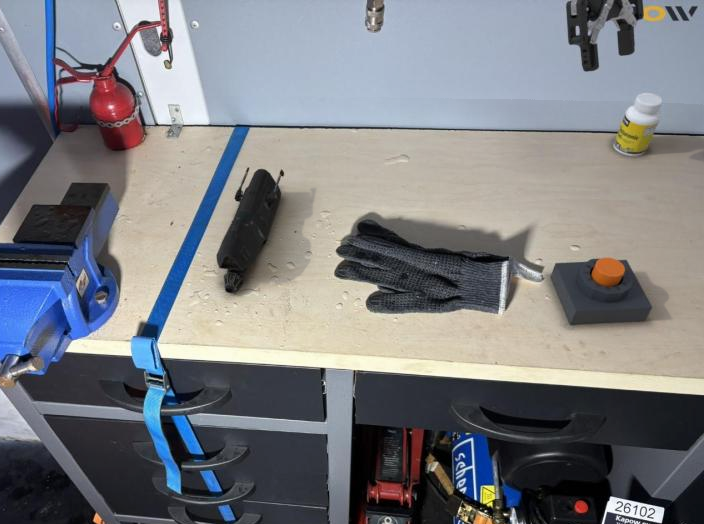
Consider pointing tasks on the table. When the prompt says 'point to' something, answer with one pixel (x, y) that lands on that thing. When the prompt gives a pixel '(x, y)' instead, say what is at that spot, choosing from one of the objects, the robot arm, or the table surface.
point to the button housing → (598, 295)
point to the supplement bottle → (638, 125)
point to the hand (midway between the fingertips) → (609, 62)
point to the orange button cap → (608, 272)
